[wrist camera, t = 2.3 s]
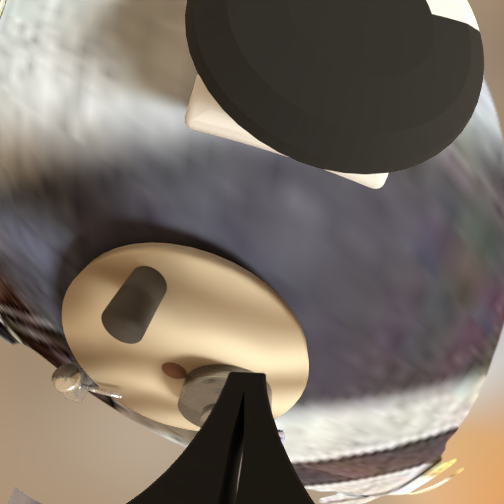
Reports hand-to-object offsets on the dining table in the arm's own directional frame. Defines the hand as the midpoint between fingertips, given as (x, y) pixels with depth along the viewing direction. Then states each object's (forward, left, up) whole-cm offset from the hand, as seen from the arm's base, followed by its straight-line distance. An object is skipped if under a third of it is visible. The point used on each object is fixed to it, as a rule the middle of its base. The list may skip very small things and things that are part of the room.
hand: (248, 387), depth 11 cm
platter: (-7, +7, -8) cm, 13 cm away
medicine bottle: (+11, -2, -10) cm, 15 cm away
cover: (-10, +3, -7) cm, 12 cm away
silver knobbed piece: (-11, +16, -9) cm, 22 cm away
